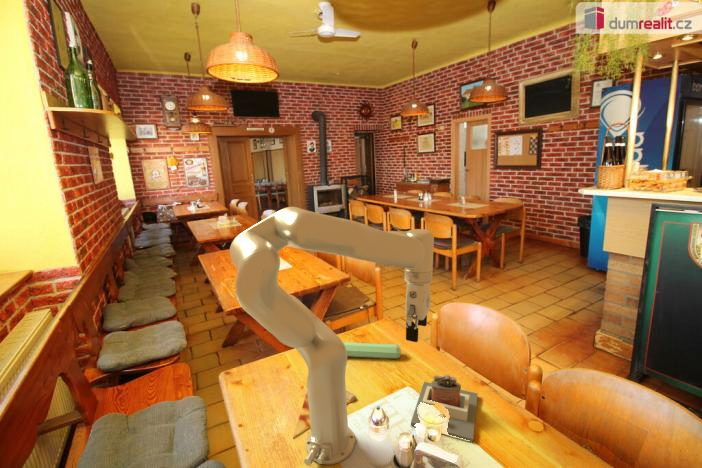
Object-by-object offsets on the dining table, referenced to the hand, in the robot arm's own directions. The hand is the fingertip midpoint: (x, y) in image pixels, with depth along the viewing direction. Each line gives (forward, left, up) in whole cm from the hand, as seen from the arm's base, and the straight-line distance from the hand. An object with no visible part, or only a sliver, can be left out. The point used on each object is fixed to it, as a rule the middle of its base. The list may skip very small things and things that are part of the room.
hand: (416, 332), depth 97 cm
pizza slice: (-11, +30, -24) cm, 39 cm away
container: (+18, +22, -24) cm, 37 cm away
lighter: (-1, -8, -22) cm, 24 cm away
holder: (0, -9, -23) cm, 25 cm away
